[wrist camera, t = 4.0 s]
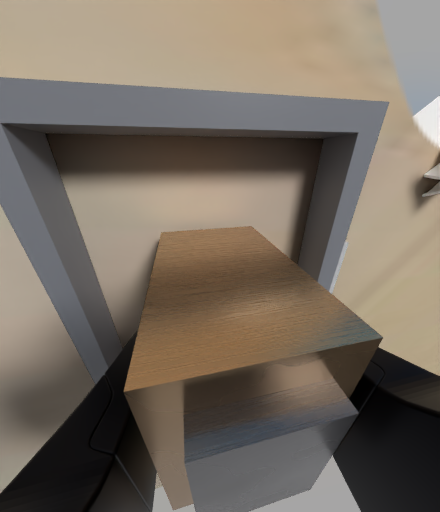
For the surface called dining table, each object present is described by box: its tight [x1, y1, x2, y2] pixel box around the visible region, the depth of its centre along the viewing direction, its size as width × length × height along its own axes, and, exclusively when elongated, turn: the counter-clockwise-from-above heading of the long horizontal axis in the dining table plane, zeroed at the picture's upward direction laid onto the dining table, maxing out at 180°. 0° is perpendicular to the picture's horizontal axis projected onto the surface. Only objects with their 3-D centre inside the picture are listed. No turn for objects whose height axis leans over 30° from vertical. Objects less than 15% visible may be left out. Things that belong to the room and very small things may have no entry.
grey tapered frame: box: [0, 77, 389, 385], centre depth 10 cm, size 15×16×2 cm
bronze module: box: [124, 226, 383, 512], centre depth 7 cm, size 4×6×8 cm
